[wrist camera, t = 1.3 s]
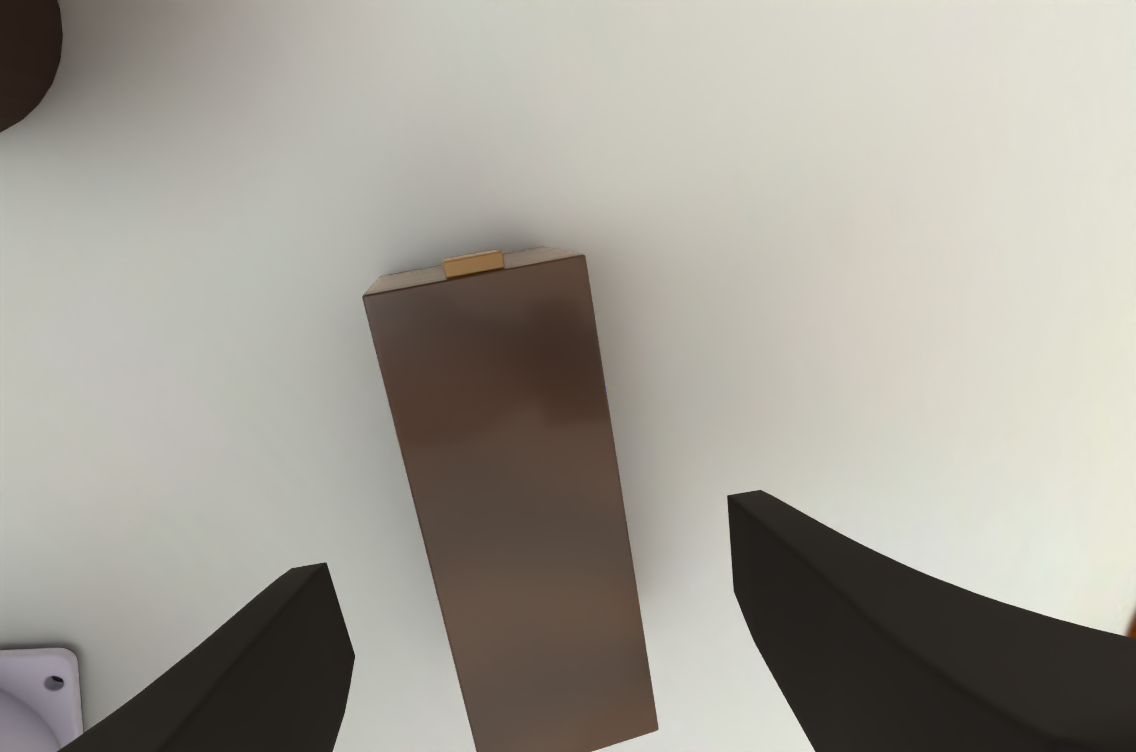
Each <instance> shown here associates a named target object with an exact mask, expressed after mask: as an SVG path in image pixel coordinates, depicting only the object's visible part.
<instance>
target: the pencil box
mask: <svg viewBox="0 0 1136 752" xmlns="http://www.w3.org/2000/svg"><path fill="white" fill-rule="evenodd" d="M442 264H443V265H440V266H435V267H429V268H424V269H418V270H413V271H407V272H402V273H396V274H391V275H385V276H381V277H379V278H378V280H377V281H376V282H375V283H374V284H373V285H372V286H371V287H370V288H369V289H368V290H367V292H366V293H365V294H364V295H363V302H364V306H365V310H366V314H367V318H368V322H369V326H370V330H371V334H372V338H373V342H374V346H375V350H376V354H377V358H378V362H379V366H380V370H381V374H382V378H383V382H384V386H385V390H386V394H387V398H388V402H389V406H390V410H391V413H392V417H393V421H394V425H395V429H396V433H397V437H398V441H399V445H400V449H401V453H402V457H403V461H404V465H405V469H406V473H407V477H408V481H409V485H410V489H411V493H412V497H413V501H414V505H415V509H416V513H417V517H418V521H419V525H420V529H421V533H422V537H423V541H424V545H425V549H426V553H427V557H428V561H429V565H430V568H431V572H432V576H433V580H434V584H435V588H436V592H437V596H438V600H439V604H440V608H441V612H442V616H443V620H444V624H445V628H446V632H447V636H448V640H449V644H450V648H451V652H452V656H453V660H454V664H455V668H456V672H457V676H458V680H459V684H460V688H461V692H462V696H463V700H464V704H465V708H466V712H467V716H468V720H469V723H470V727H471V731H472V735H473V739H474V743H475V747H476V751H477V752H592V751H595V750H598V749H601V748H604V747H608V746H611V745H614V744H617V743H620V742H623V741H626V740H629V739H633V738H636V737H639V736H642V735H645V734H648V733H651V732H654V731H657V730H658V722H657V715H656V709H655V702H654V696H653V689H652V683H651V676H650V670H649V663H648V657H647V651H646V644H645V638H644V631H643V625H642V618H641V612H640V605H639V599H638V593H637V586H636V580H635V573H634V567H633V560H632V554H631V547H630V541H629V534H628V528H627V522H626V515H625V509H624V502H623V496H622V489H621V483H620V476H619V470H618V463H617V457H616V451H615V444H614V438H613V431H612V425H611V418H610V412H609V405H608V399H607V393H606V386H605V380H604V373H603V367H602V360H601V354H600V347H599V341H598V334H597V328H596V322H595V315H594V309H593V302H592V296H591V289H590V283H589V276H588V270H587V264H586V257H585V255H584V254H579V253H574V252H569V251H563V250H558V249H553V248H547V247H539V248H534V249H528V250H523V251H517V252H512V253H506V254H503V253H502V251H499V250H496V249H495V250H489V251H484V252H478V253H473V254H467V255H462V256H456V257H450V258H445V259H442Z"/></svg>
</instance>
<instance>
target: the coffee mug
mask: <svg viewBox="0 0 1136 752" xmlns="http://www.w3.org/2000/svg"><path fill="white" fill-rule="evenodd" d="M62 37H63V34H62V25H61V16H60V8H59V5H58V2H57V0H0V132H2V131H3V130H5V129H7V128H9V127H10V126H12V125H14V124H16V123H17V122H19V121H21V120H22V119H23V118H25V117H26V116H27V115H28V114H29V113H30V112H31V111H32V110H33V109H34V108H35V107H36V106H37V105H38V104H39V103H40V102H41V100H42V99H43V97H44V96H45V94H46V92H47V91H48V89H49V88H50V86H51V85H52V83H53V80H54V77H55V74H56V71H57V68H58V65H59V62H60V57H61V47H62Z"/></svg>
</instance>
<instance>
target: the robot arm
mask: <svg viewBox="0 0 1136 752" xmlns="http://www.w3.org/2000/svg"><path fill="white" fill-rule="evenodd" d="M727 499H728V514H729V528H730V543H731V557H732V572H733V586H734V593H735V595H736V598H737V600H738V603H739V605H740V608H741V611H742V613H743V616H744V618H745V621H746V623H747V626H748V628H749V630H750V633H751V635H752V638H753V640H754V642H755V644H756V646H757V648H758V649H759V651H760V653H761V655H762V657H763V659H764V660H765V662H766V664H767V666H768V668H769V670H770V671H771V673H772V675H773V677H774V679H775V680H776V682H777V684H778V686H779V688H780V689H781V691H782V693H783V695H784V696H785V698H786V700H787V702H788V704H789V705H790V707H791V709H792V711H793V712H794V714H795V716H796V718H797V720H798V721H799V723H800V725H801V727H802V729H803V730H804V732H805V734H806V736H807V737H808V739H809V741H810V743H811V745H812V746H813V748H814V750H815V752H1136V639H1135V638H1130V637H1126V636H1122V635H1118V634H1113V633H1109V632H1105V631H1101V630H1097V629H1092V628H1089V627H1085V626H1081V625H1077V624H1074V623H1070V622H1066V621H1062V620H1059V619H1055V618H1052V617H1048V616H1045V615H1042V614H1039V613H1035V612H1032V611H1029V610H1026V609H1022V608H1019V607H1016V606H1012V605H1009V604H1006V603H1003V602H1000V601H997V600H994V599H991V598H988V597H985V596H982V595H979V594H976V593H973V592H971V591H968V590H966V589H963V588H960V587H958V586H955V585H953V584H950V583H947V582H945V581H942V580H940V579H937V578H934V577H932V576H929V575H927V574H924V573H922V572H920V571H917V570H915V569H913V568H910V567H908V566H906V565H904V564H902V563H899V562H897V561H895V560H893V559H891V558H889V557H887V556H884V555H882V554H880V553H878V552H876V551H874V550H872V549H870V548H868V547H866V546H864V545H862V544H860V543H858V542H856V541H854V540H852V539H850V538H848V537H846V536H844V535H842V534H840V533H839V532H837V531H835V530H833V529H831V528H829V527H827V526H826V525H824V524H822V523H820V522H818V521H817V520H815V519H813V518H811V517H809V516H808V515H806V514H804V513H802V512H800V511H799V510H797V509H795V508H793V507H792V506H790V505H788V504H786V503H785V502H783V501H781V500H779V499H777V498H775V497H774V496H772V495H770V494H768V493H766V492H764V491H762V490H757V491H751V492H745V493H739V494H733V495H727ZM354 659H355V654H354V651H353V648H352V644H351V641H350V638H349V635H348V631H347V628H346V625H345V622H344V618H343V615H342V612H341V609H340V605H339V602H338V599H337V595H336V592H335V589H334V586H333V582H332V579H331V576H330V573H329V569H328V566H327V563H320V564H314V565H308V566H302V567H296V568H291V569H290V570H289V571H287V572H286V573H284V574H283V575H282V576H280V577H279V578H278V579H277V580H275V581H274V582H273V583H272V584H270V585H269V586H268V587H267V588H266V589H264V590H263V591H262V592H261V593H260V594H258V595H257V596H256V597H255V598H254V599H253V600H251V601H250V602H249V603H248V604H247V605H246V606H244V607H243V608H242V609H241V610H240V611H239V612H237V613H236V614H235V615H234V616H233V617H232V618H230V619H229V620H228V621H227V622H226V623H225V624H223V625H222V626H221V627H220V628H219V629H218V630H216V631H215V632H214V633H213V634H212V635H210V636H209V637H208V638H207V639H206V640H205V641H203V642H202V643H201V644H200V645H199V646H198V647H196V648H195V649H194V650H193V651H191V652H190V653H189V654H188V655H186V656H185V657H184V658H183V659H181V660H180V661H179V662H178V663H176V664H175V665H174V666H173V667H171V668H170V669H169V670H168V671H166V672H165V673H164V674H163V675H161V676H160V677H159V678H158V679H156V680H155V681H154V682H153V683H151V684H150V685H149V686H148V687H146V688H145V689H144V690H143V691H141V692H140V693H139V694H137V695H136V696H135V697H133V698H132V699H131V700H129V701H128V702H127V703H125V704H124V705H123V706H121V707H120V708H119V709H117V710H116V711H114V712H113V713H112V714H110V715H109V716H108V717H106V718H105V719H103V720H102V721H101V722H99V723H98V724H96V725H95V726H93V727H92V728H90V729H89V730H88V731H86V732H85V733H83V723H82V711H81V698H80V686H79V673H78V661H77V658H76V655H75V654H74V653H73V652H72V651H70V650H68V649H65V648H38V649H16V650H0V752H332V751H333V748H334V745H335V742H336V739H337V736H338V733H339V729H340V726H341V723H342V720H343V716H344V713H345V709H346V704H347V699H348V694H349V689H350V683H351V677H352V671H353V665H354ZM52 676H57V677H60V678H61V679H63V682H57V681H55V680H54V679H53V678H52Z"/></svg>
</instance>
